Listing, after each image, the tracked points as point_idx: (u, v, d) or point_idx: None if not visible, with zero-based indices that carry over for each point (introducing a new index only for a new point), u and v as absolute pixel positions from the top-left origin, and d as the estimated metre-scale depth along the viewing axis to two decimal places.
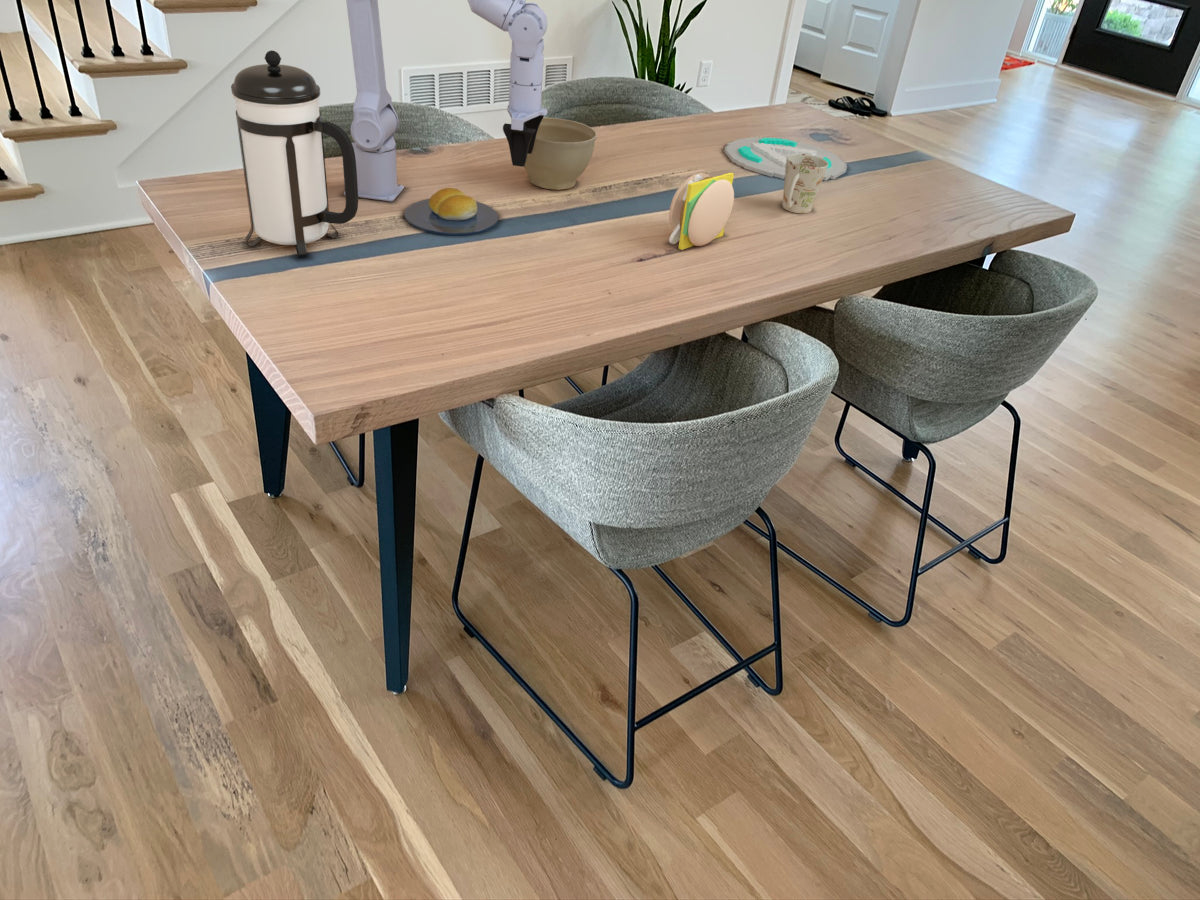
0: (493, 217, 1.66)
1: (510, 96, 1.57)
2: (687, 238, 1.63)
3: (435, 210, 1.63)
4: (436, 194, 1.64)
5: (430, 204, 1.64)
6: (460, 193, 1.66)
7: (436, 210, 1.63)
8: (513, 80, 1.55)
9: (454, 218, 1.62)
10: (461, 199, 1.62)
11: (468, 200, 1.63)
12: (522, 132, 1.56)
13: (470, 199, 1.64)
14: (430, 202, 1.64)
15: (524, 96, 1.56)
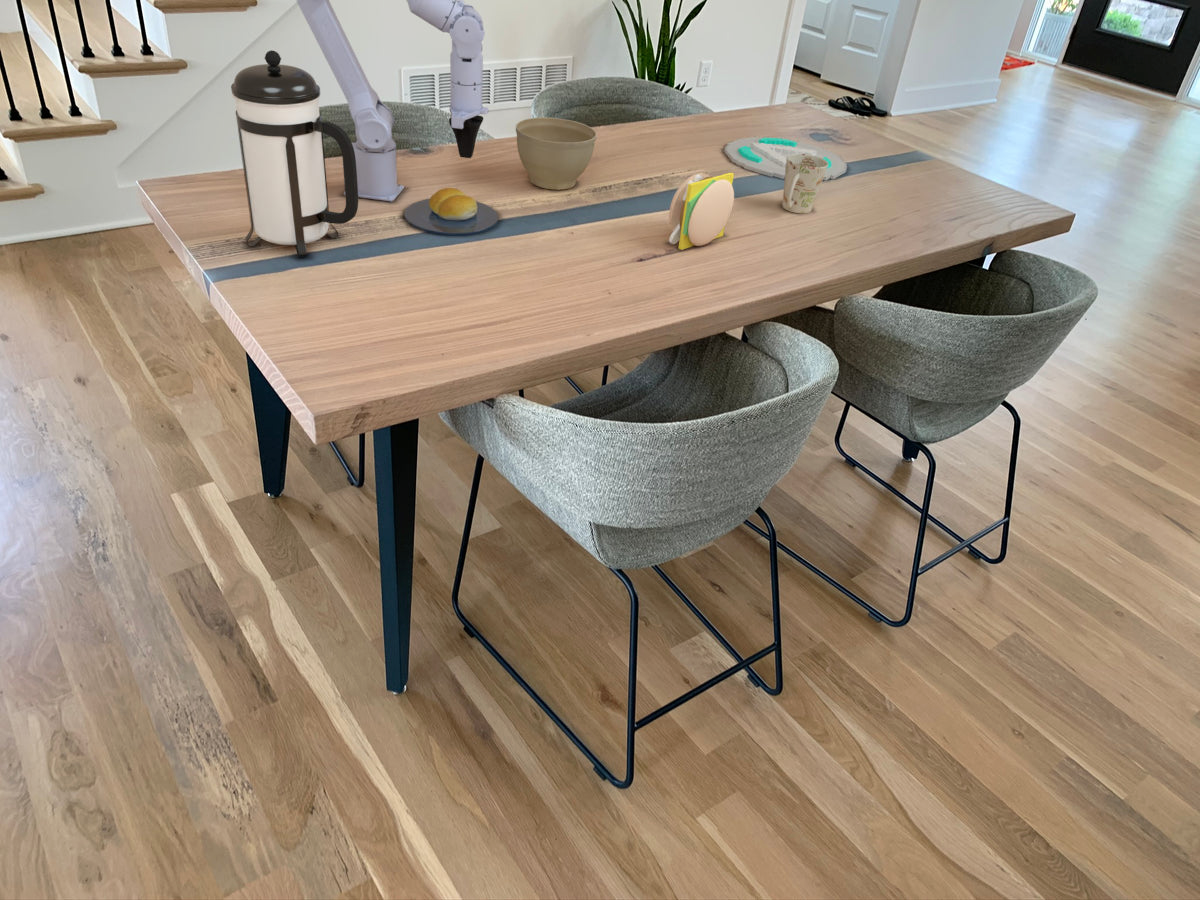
0: (493, 217, 1.66)
1: (451, 95, 1.62)
2: (687, 238, 1.63)
3: (435, 210, 1.63)
4: (436, 194, 1.64)
5: (430, 204, 1.64)
6: (460, 193, 1.66)
7: (436, 210, 1.63)
8: (456, 81, 1.60)
9: (454, 218, 1.62)
10: (461, 199, 1.62)
11: (468, 200, 1.63)
12: (467, 125, 1.64)
13: (470, 199, 1.64)
14: (430, 202, 1.64)
15: (464, 95, 1.61)
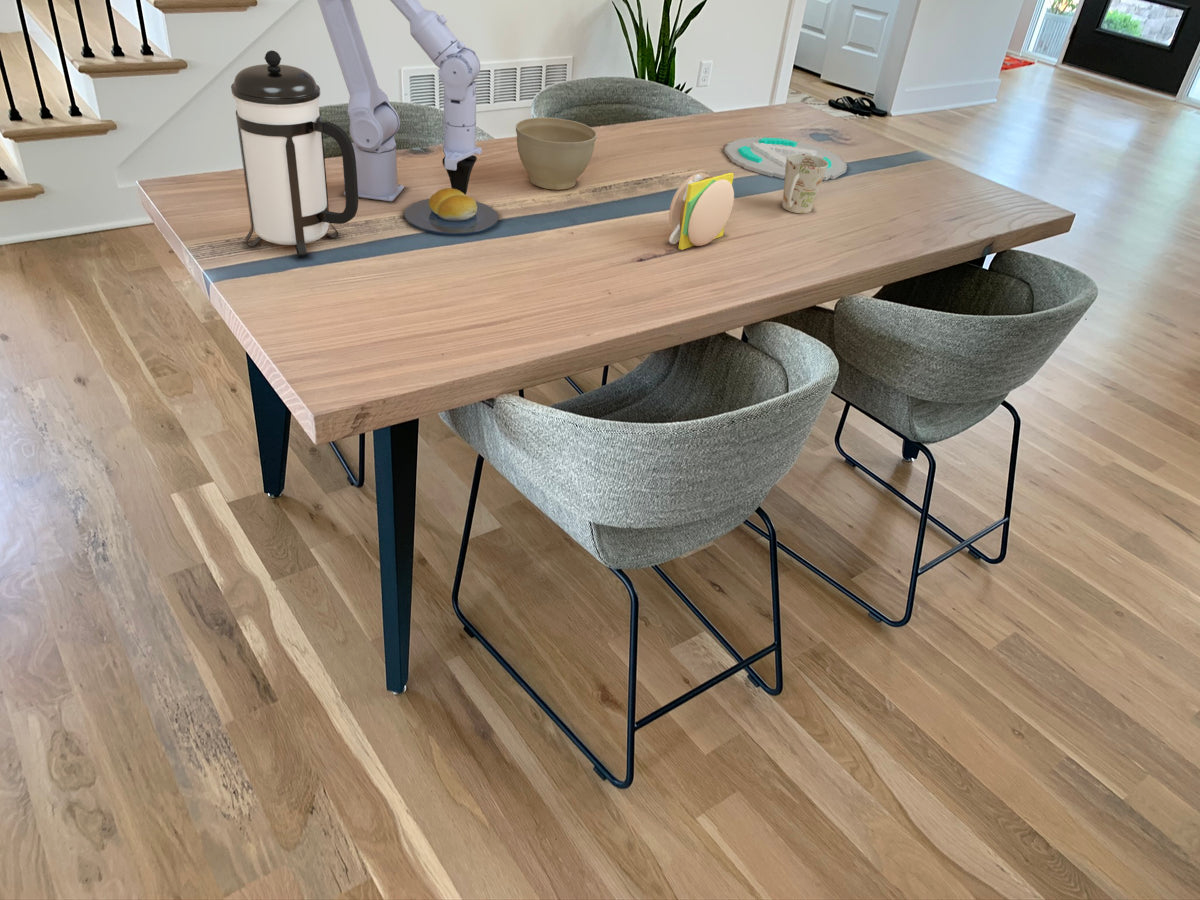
0: (493, 217, 1.66)
1: (444, 136, 1.62)
2: (687, 238, 1.63)
3: (435, 210, 1.63)
4: (436, 194, 1.64)
5: (430, 204, 1.64)
6: (460, 193, 1.66)
7: (436, 210, 1.63)
8: (446, 121, 1.60)
9: (454, 219, 1.62)
10: (460, 199, 1.62)
11: (468, 200, 1.63)
12: (461, 165, 1.63)
13: (470, 199, 1.64)
14: (430, 203, 1.64)
15: (457, 136, 1.60)
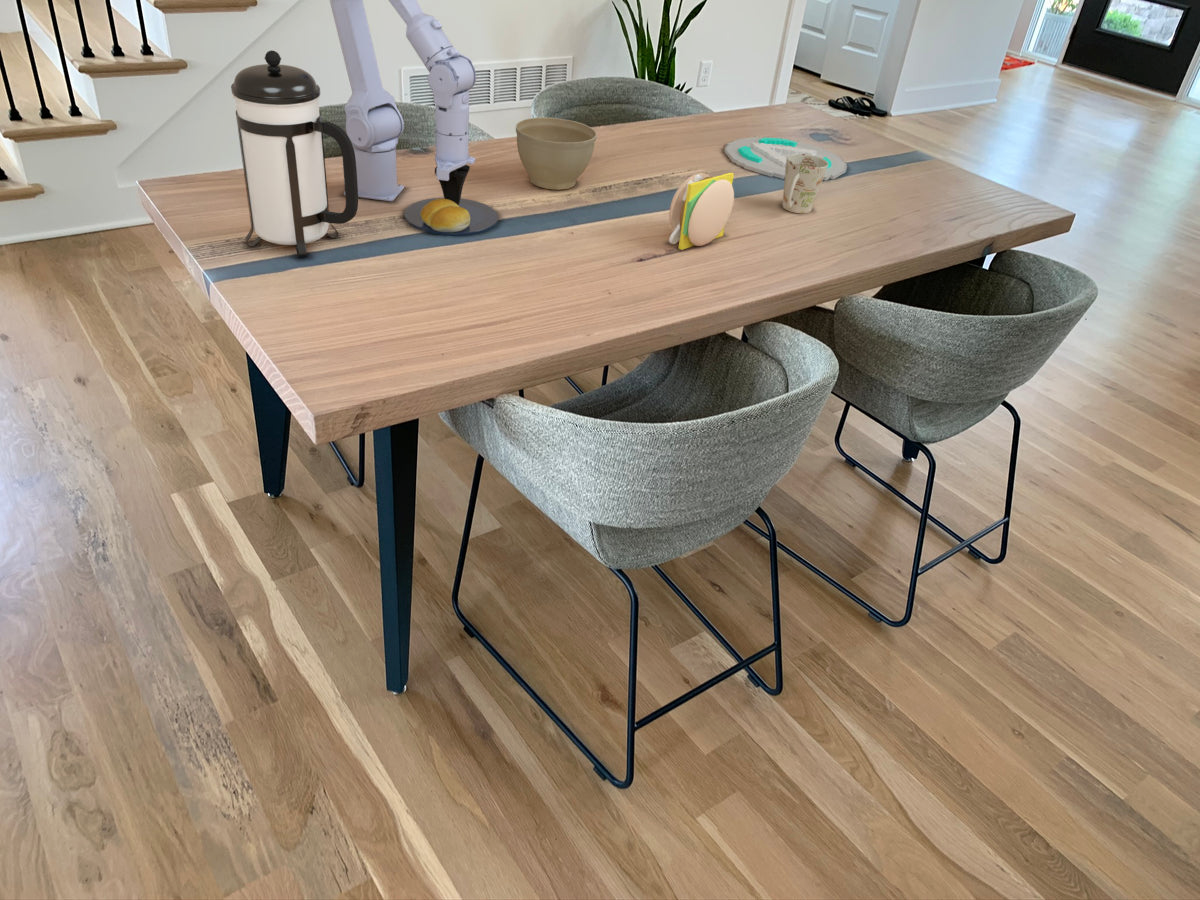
0: (493, 217, 1.66)
1: (436, 145, 1.57)
2: (687, 238, 1.63)
3: (427, 222, 1.59)
4: (428, 205, 1.59)
5: (422, 215, 1.59)
6: (453, 204, 1.61)
7: (428, 222, 1.59)
8: (436, 128, 1.56)
9: (447, 230, 1.58)
10: (453, 210, 1.58)
11: (461, 211, 1.58)
12: (453, 175, 1.59)
13: (463, 210, 1.59)
14: (422, 214, 1.59)
15: (450, 146, 1.56)
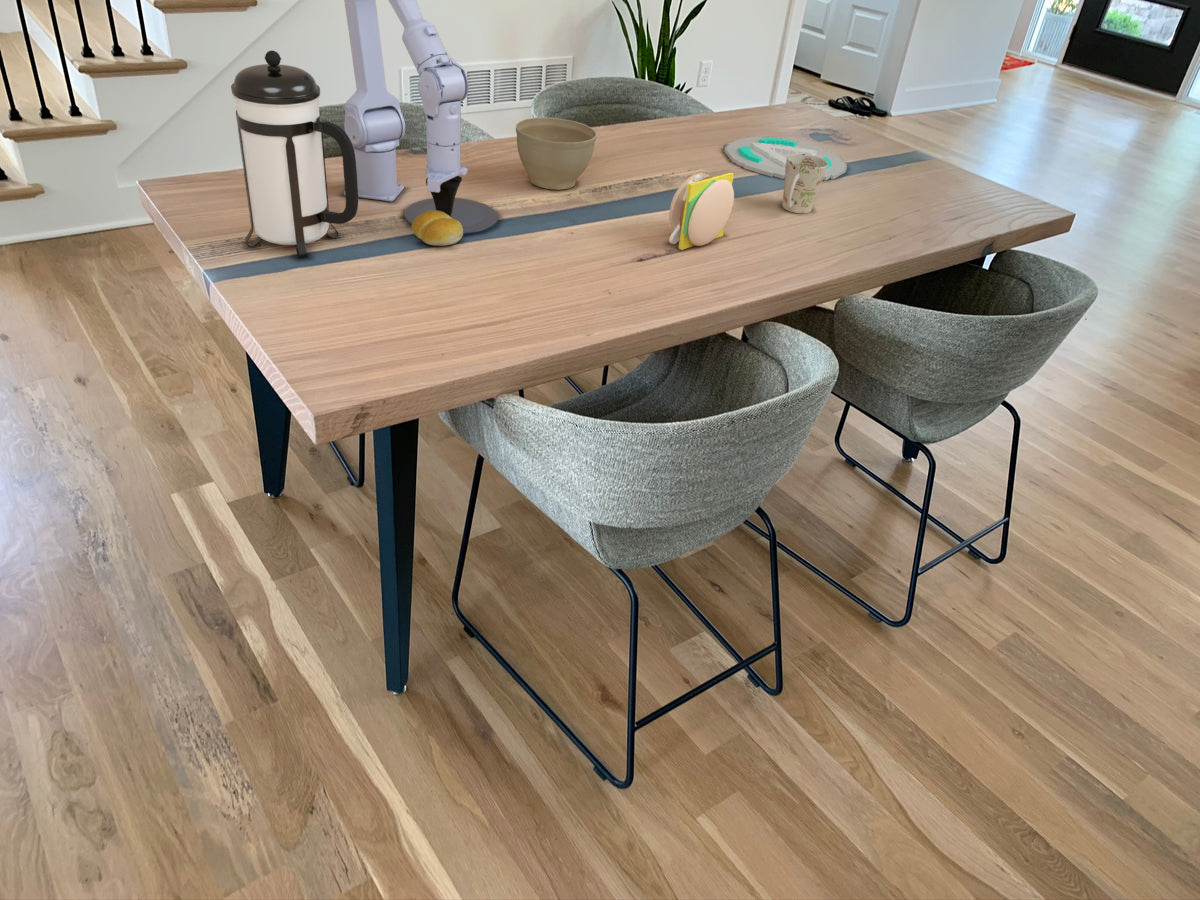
0: (493, 217, 1.66)
1: (427, 156, 1.52)
2: (687, 238, 1.63)
3: (418, 235, 1.54)
4: (419, 217, 1.55)
5: (413, 228, 1.55)
6: (445, 216, 1.56)
7: (419, 235, 1.54)
8: None
9: (439, 244, 1.53)
10: (445, 222, 1.53)
11: (453, 224, 1.54)
12: (445, 186, 1.54)
13: (455, 223, 1.55)
14: (413, 226, 1.55)
15: (441, 156, 1.51)
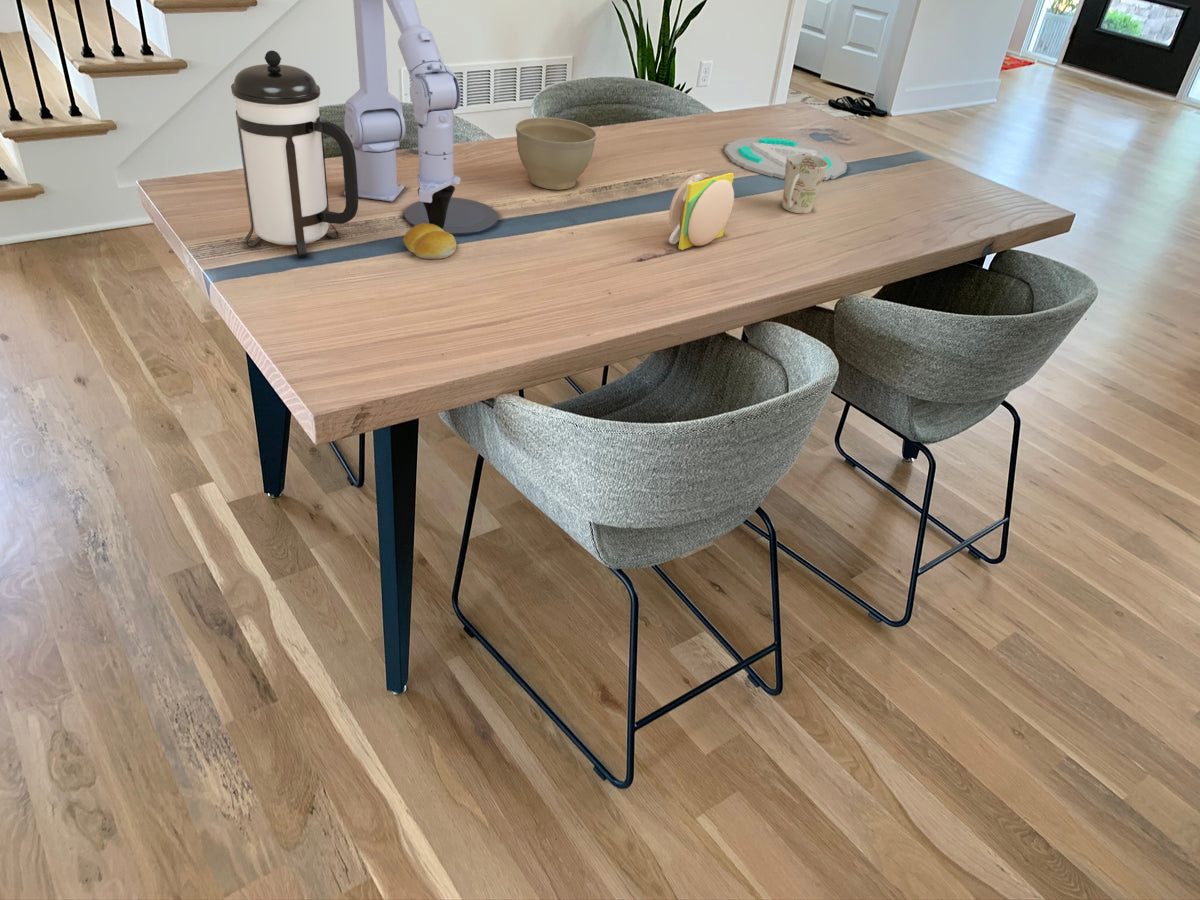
0: (493, 217, 1.66)
1: (419, 165, 1.48)
2: (687, 238, 1.63)
3: (411, 248, 1.51)
4: (411, 231, 1.51)
5: (405, 241, 1.51)
6: (437, 229, 1.53)
7: (412, 248, 1.51)
8: None
9: (432, 257, 1.50)
10: (438, 235, 1.50)
11: (446, 237, 1.50)
12: (437, 196, 1.50)
13: (449, 235, 1.51)
14: (405, 240, 1.51)
15: (433, 166, 1.47)
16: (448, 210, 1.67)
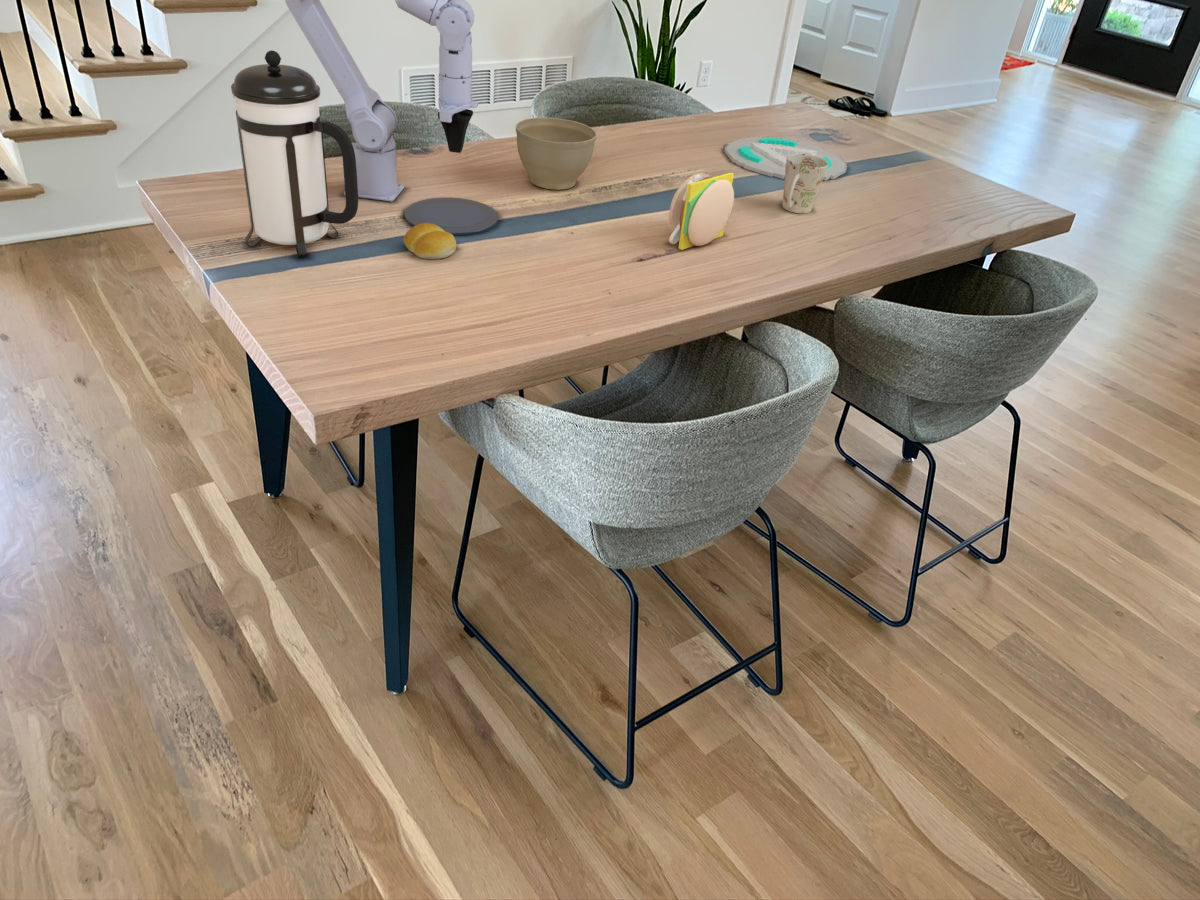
0: (493, 217, 1.66)
1: (440, 88, 1.59)
2: (687, 238, 1.63)
3: (411, 248, 1.51)
4: (411, 230, 1.51)
5: (405, 241, 1.51)
6: (437, 228, 1.53)
7: (412, 248, 1.50)
8: (443, 73, 1.57)
9: (432, 257, 1.50)
10: (438, 235, 1.50)
11: (446, 237, 1.50)
12: (456, 119, 1.61)
13: (449, 235, 1.51)
14: (405, 240, 1.51)
15: (453, 89, 1.58)
16: (448, 210, 1.67)
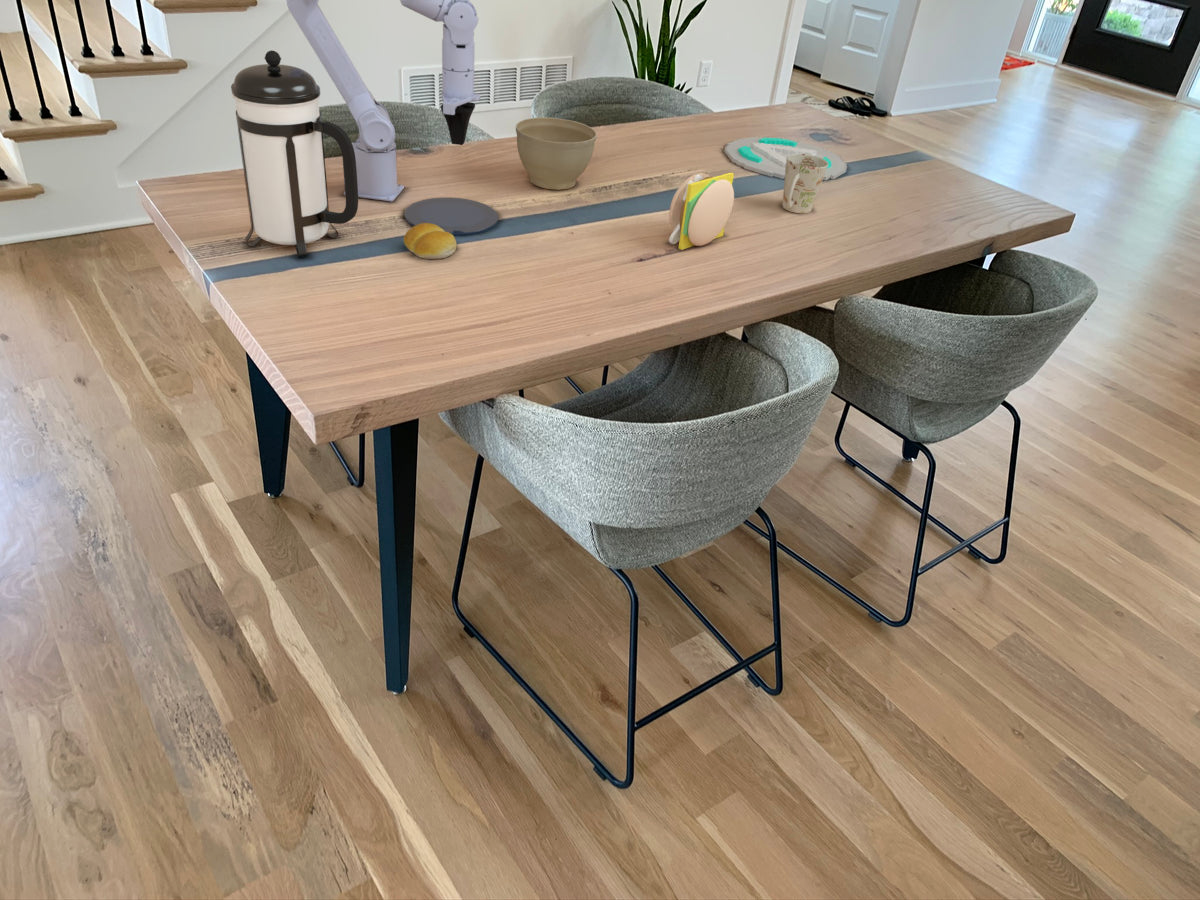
0: (493, 217, 1.66)
1: (443, 82, 1.63)
2: (687, 238, 1.63)
3: (411, 248, 1.51)
4: (411, 230, 1.51)
5: (405, 241, 1.51)
6: (437, 228, 1.53)
7: (412, 248, 1.50)
8: (450, 68, 1.60)
9: (432, 257, 1.50)
10: (438, 235, 1.50)
11: (446, 237, 1.50)
12: (459, 111, 1.65)
13: (449, 235, 1.51)
14: (405, 240, 1.51)
15: (456, 82, 1.61)
16: (448, 210, 1.67)
